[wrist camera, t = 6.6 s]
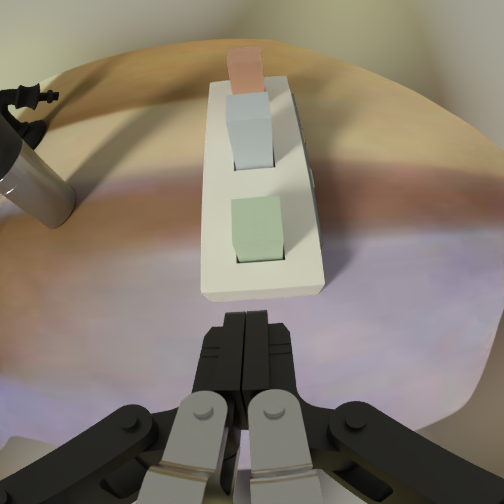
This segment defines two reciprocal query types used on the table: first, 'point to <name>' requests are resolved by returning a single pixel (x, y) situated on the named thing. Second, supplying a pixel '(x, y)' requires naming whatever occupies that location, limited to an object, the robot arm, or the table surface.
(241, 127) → the key grey
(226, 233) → the white flat bar
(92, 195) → the table surface
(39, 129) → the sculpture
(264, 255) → the key sage
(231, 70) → the key terracotta
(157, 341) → the table surface
